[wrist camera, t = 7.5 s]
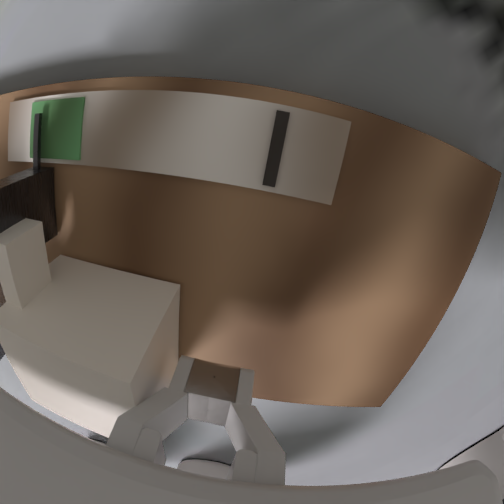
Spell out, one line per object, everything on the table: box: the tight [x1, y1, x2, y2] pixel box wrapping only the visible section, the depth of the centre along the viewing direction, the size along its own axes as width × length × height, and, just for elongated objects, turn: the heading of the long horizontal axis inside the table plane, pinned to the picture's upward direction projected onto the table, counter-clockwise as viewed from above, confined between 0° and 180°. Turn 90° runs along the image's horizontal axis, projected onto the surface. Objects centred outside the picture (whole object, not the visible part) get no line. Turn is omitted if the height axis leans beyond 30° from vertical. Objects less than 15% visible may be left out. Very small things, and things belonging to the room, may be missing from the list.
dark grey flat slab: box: [0, 113, 58, 243], centre depth 7 cm, size 1×5×4 cm, turn 170°
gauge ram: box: [0, 218, 180, 438], centre depth 9 cm, size 8×8×5 cm
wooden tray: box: [0, 77, 501, 407], centre depth 11 cm, size 26×14×2 cm, turn 80°
